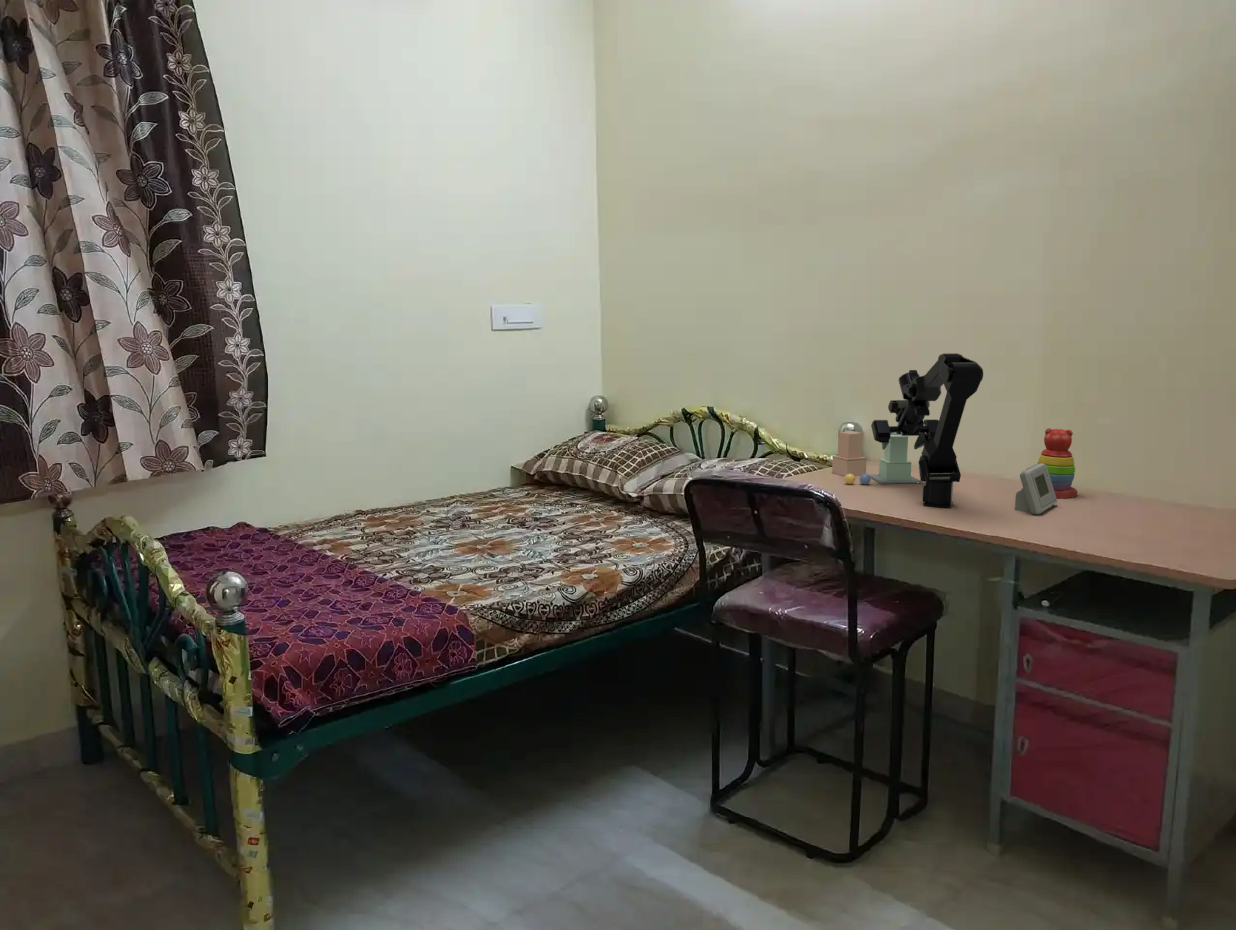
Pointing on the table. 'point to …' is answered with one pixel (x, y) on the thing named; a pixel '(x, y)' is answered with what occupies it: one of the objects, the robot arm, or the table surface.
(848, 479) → the marble amber
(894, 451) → the stepped green tower
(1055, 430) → the stacking bear
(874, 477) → the mat
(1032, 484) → the digital clock
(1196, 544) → the table surface
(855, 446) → the pink stepped block
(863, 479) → the blue ball
